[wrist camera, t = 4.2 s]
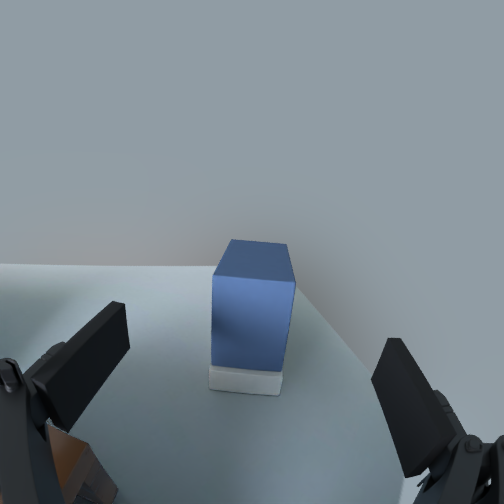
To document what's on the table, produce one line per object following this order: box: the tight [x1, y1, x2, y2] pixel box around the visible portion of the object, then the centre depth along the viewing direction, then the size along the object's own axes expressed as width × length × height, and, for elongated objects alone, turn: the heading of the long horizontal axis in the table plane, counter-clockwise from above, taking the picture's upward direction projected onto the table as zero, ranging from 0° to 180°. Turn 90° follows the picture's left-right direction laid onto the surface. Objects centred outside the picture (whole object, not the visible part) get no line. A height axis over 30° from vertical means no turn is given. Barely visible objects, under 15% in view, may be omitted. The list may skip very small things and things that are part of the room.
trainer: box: [209, 239, 296, 396], centre depth 24 cm, size 5×14×9 cm, turn 177°
